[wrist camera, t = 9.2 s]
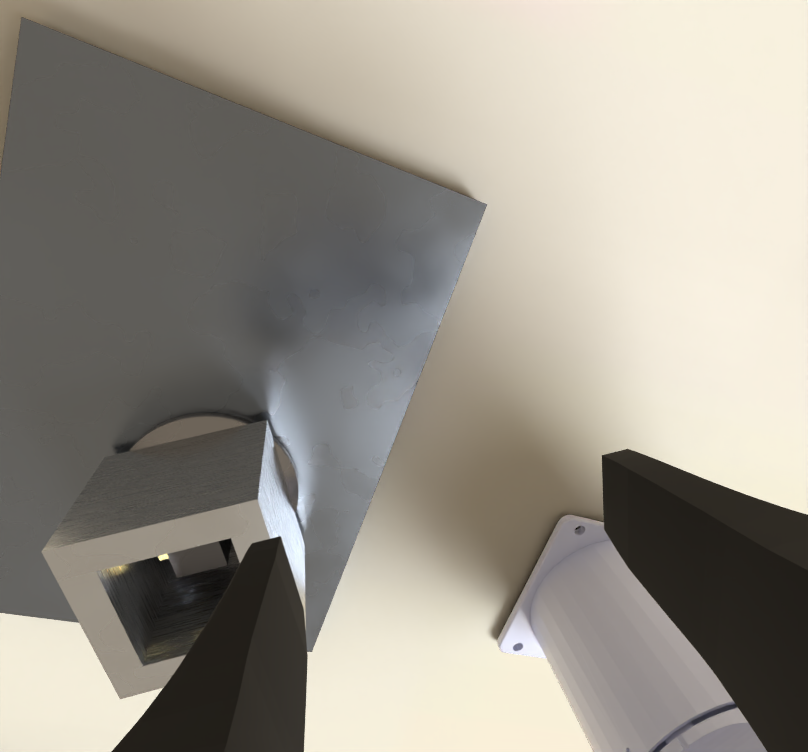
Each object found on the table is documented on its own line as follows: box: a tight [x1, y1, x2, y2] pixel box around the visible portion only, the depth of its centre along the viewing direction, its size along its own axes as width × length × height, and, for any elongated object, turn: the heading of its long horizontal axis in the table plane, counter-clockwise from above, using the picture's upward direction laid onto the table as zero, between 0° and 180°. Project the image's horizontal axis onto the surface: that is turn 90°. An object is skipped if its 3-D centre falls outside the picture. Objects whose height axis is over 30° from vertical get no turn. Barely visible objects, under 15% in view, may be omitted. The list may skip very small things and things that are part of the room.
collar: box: [42, 420, 306, 699], centre depth 18 cm, size 6×6×5 cm
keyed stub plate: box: [0, 17, 487, 652], centre depth 18 cm, size 14×20×4 cm
